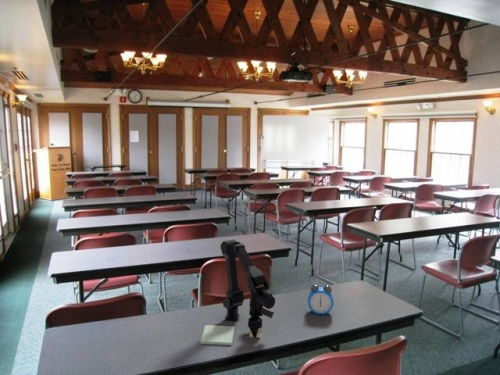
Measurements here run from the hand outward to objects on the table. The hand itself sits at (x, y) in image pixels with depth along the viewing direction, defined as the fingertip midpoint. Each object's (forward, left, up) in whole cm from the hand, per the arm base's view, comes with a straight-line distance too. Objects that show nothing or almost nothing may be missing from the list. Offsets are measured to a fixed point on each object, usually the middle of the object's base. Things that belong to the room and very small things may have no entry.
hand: (255, 332), depth 177 cm
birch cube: (0, 0, -1) cm, 1 cm away
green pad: (+3, -17, -1) cm, 17 cm away
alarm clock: (-25, +33, -1) cm, 41 cm away
